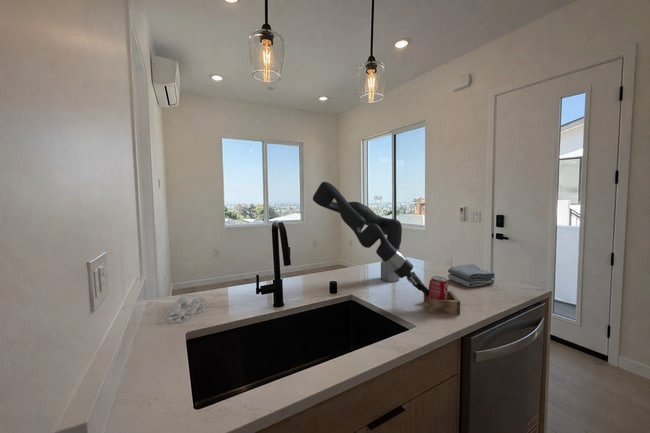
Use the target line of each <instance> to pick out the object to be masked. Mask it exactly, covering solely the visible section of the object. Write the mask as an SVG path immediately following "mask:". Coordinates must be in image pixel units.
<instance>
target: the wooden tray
mask: <svg viewBox="0 0 650 433" xmlns="http://www.w3.org/2000/svg"><path fill="white" fill-rule="evenodd" d="M427 298H428V296H426V295H425V294H424V293H423V302H424V303H427ZM428 312H429V313H430V314H444V315H445V314H447V315H461V301H460V299H458V297H457V296H456V295H455V294H454V293H453V291H451V290H448V291H447V299H446V300H435V299H429V305H428Z"/></svg>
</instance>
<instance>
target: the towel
mask: <svg viewBox="0 0 650 433" xmlns="http://www.w3.org/2000/svg"><path fill="white" fill-rule="evenodd" d="M447 272H448V273H449V274H448V275H447V277H448V278H447V279H449V280H451V281H453V282H455V283H456V284H457V283H458V284H460V285H462V286H465V287H468V288H475V287H480V286H485V285H492V284H495V283H494V282H495V279H496V277H495V275H496V274H495V273H494V272H492V271H489V270H485V269H481V268H480V267H478V266H477V265H476V264H475V263H469V264H463V265H457V266H456V265H455V266H451V267H450V268H448V269H447Z"/></svg>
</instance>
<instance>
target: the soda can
mask: <svg viewBox="0 0 650 433" xmlns="http://www.w3.org/2000/svg"><path fill="white" fill-rule="evenodd" d="M428 290H429V295H428V298H427V302H426V304H427V305H428V306H429V299H435V300H446V299H447V291H449V283H448V278H445V277H443V276H437V275H435V276H431V279H430V280H429V284H428Z"/></svg>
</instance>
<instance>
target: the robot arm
mask: <svg viewBox="0 0 650 433" xmlns="http://www.w3.org/2000/svg"><path fill="white" fill-rule="evenodd" d="M312 200H313V202H314V203H315V204H317V205H318V206H319V207H323V208H325V209H328V210H331V211H333V212H336V213H338V214H340V218H341V219H342V221H343V222H344V224H346V226H348V227H349V228H350V229H351V230H352V232H353V233H354V234H355V237H356V238H357V239H358V242H359V244H360V245H361V246H362V247H363V248H366V249H370V248H371V247H373V246H374V245H375V244H376V243H377V241H378V240H379V241H380V243H379V245H378V247H377V248H376V251H375V252H376V255H378V257H379V258H380V259H381V262H380V280H382V281H384V282H388V283H389V282H390V283H393V282H394V283H396V282H399V281H400V279H404V278H405V277H406V280H407V281H408V283H410V284H411V285H412V286H413V287H415V289H417V290H418V291H420V292H422V293H423V295H424V294H425V295H426V296H428V295H429V288H427V287H426V286H425V284H424V283H423V282H422V280H421V278H420V277H419V276H418V275H417V274H416V273H415V271H412V270H413V269H414V265H413V263H411V262H410V261H409V260H408V259H407V258H406V256H404V254H402V253H401V252H400V249H401V248H400V247H401V246H400V245H401V244H402V234H403V233H402V232H403V227H402V223H401V221H400V220H398V219H396V218H388V217H385V216H381V215H378V214H376V213H375V211H374V210H372V209H371V208H370V207H369V206H367V205H365V204H363V203H361V202H359V201H348V200H347V199H346V198H345V197H344V195H342V194H341V192H340V191H339V190H338V188H336V186H334V185H333V184H332V183H330V182H327V181H322V182H321V183H320V184H319V186H318V188H317V189H316V191H315V192H314V194H313V196H312ZM334 200H335V201H334ZM365 226H366V227H365ZM364 227H365V228H364Z"/></svg>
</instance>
